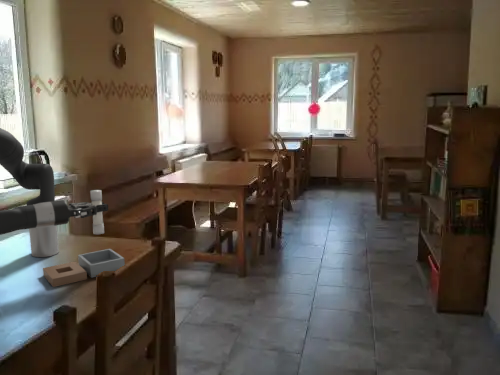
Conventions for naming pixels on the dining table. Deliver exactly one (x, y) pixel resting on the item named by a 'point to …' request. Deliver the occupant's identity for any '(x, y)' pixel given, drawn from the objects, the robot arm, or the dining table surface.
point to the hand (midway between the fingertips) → (105, 206)
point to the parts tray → (100, 261)
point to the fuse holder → (64, 274)
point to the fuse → (98, 218)
